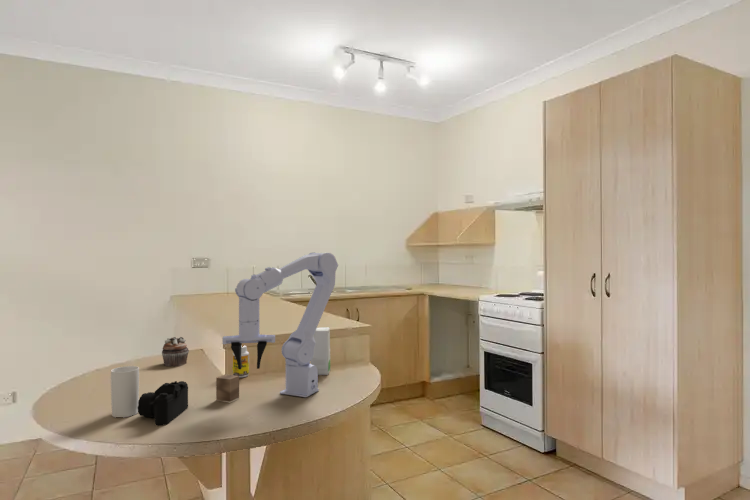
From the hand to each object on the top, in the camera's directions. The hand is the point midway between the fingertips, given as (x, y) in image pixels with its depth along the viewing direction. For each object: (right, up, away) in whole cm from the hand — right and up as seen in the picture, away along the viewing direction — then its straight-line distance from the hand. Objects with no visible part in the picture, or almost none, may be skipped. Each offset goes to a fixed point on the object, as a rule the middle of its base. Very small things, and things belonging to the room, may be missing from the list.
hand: (249, 368), depth 136 cm
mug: (-31, -10, -7) cm, 34 cm away
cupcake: (-40, -10, +45) cm, 61 cm away
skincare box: (+17, -10, +33) cm, 38 cm away
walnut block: (-7, -10, +3) cm, 13 cm away
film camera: (-20, -10, -10) cm, 25 cm away
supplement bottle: (-10, -10, +28) cm, 32 cm away
